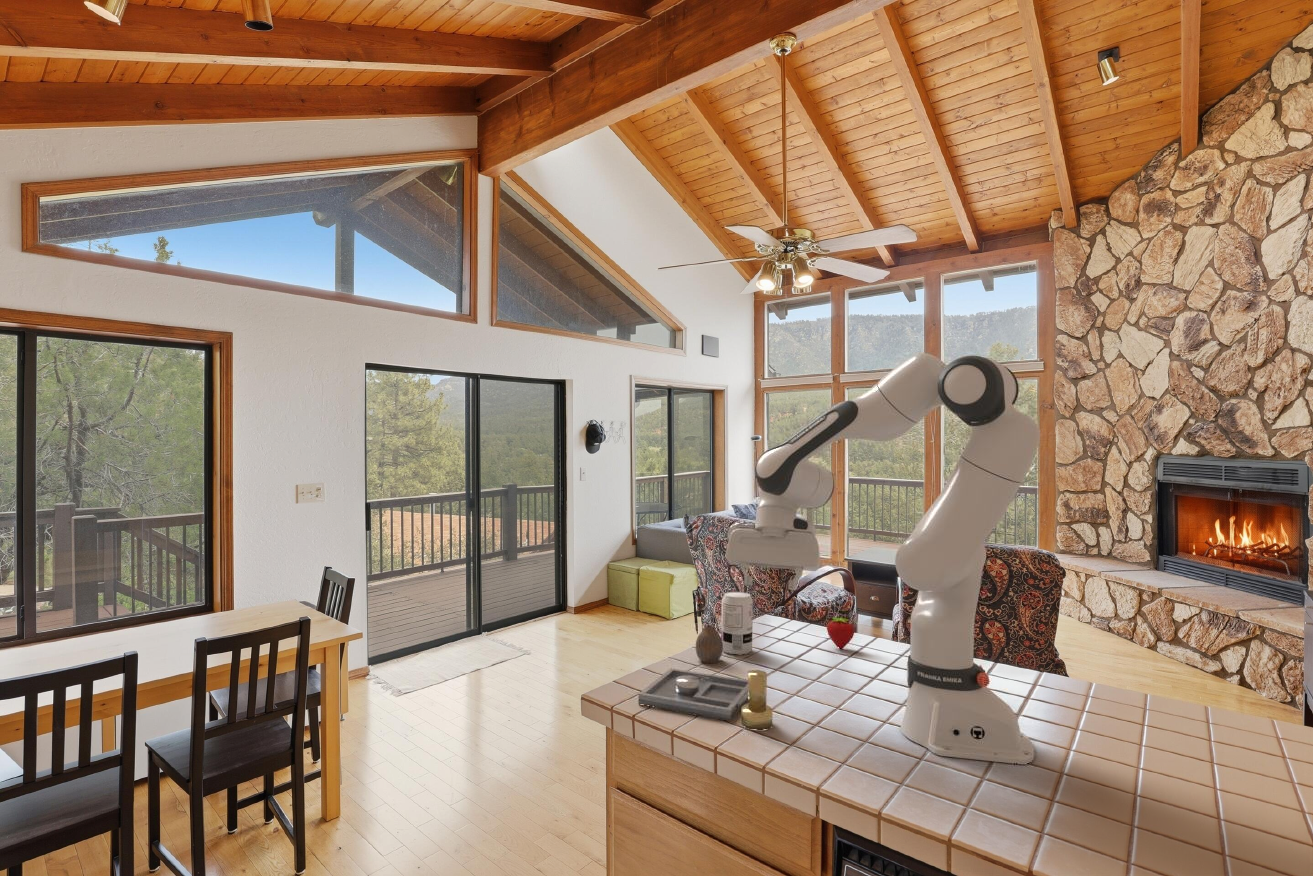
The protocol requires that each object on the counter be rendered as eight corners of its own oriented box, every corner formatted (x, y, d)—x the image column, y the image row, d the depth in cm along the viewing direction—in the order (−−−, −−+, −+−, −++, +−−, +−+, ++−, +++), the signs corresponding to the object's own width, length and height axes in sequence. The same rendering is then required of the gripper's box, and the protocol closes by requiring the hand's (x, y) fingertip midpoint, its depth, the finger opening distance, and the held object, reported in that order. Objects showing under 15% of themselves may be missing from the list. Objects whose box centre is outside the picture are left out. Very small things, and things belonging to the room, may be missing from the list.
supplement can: (716, 647, 179) (717, 592, 179) (744, 645, 181) (744, 590, 182) (728, 656, 171) (729, 598, 171) (757, 654, 174) (758, 597, 174)
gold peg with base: (775, 721, 131) (776, 670, 131) (768, 733, 125) (768, 680, 125) (745, 716, 133) (746, 666, 133) (737, 727, 127) (738, 675, 128)
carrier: (756, 691, 146) (756, 675, 147) (732, 722, 130) (732, 703, 130) (670, 677, 155) (670, 662, 155) (638, 704, 138) (638, 687, 138)
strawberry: (849, 654, 174) (850, 616, 175) (822, 649, 179) (823, 612, 179) (857, 649, 179) (858, 612, 179) (831, 644, 184) (831, 608, 184)
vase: (722, 657, 171) (723, 623, 171) (722, 665, 164) (723, 630, 164) (695, 655, 171) (696, 622, 172) (694, 664, 165) (695, 629, 165)
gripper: (726, 517, 148) (719, 579, 142) (820, 523, 141) (816, 588, 135) (731, 526, 153) (724, 586, 147) (822, 532, 146) (819, 595, 141)
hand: (769, 587), depth 141 cm, fingers open, 8 cm apart
